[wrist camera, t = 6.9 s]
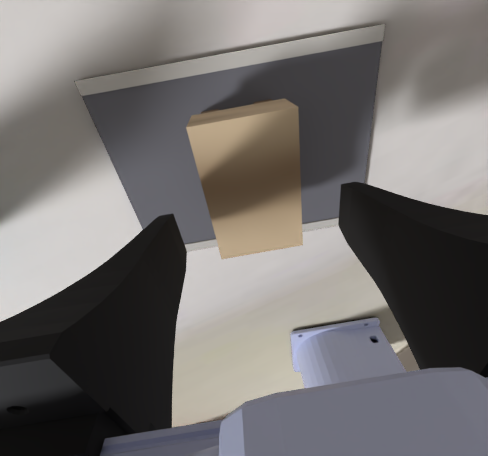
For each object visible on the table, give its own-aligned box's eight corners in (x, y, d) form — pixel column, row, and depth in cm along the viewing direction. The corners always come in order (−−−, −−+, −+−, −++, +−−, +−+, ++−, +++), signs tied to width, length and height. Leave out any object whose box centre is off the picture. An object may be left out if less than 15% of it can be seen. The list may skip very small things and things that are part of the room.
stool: (283, 202, 18) (302, 244, 14) (220, 213, 18) (221, 259, 14) (274, 92, 14) (298, 106, 10) (195, 106, 14) (185, 127, 10)
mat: (380, 24, 13) (385, 23, 13) (357, 218, 20) (360, 221, 20) (78, 80, 13) (74, 81, 13) (156, 253, 20) (155, 257, 20)
